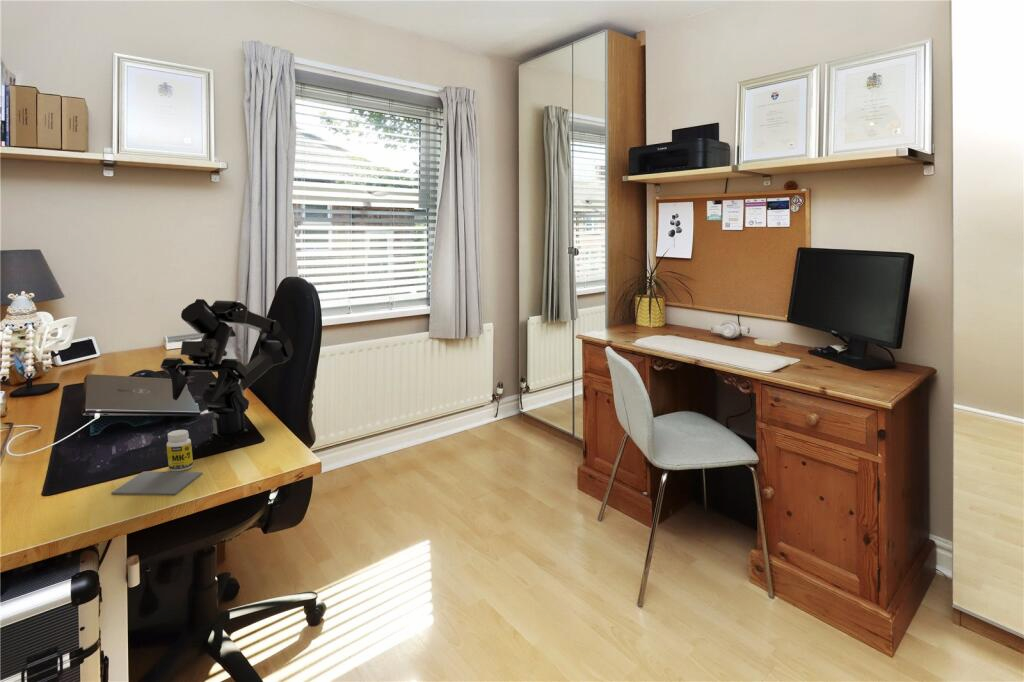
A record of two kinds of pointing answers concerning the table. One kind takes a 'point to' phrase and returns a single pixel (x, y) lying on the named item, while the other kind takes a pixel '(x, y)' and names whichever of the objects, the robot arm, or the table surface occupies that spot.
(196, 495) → the table surface
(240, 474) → the table surface
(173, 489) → the mat
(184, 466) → the supplement bottle
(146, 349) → the table surface
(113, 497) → the table surface
